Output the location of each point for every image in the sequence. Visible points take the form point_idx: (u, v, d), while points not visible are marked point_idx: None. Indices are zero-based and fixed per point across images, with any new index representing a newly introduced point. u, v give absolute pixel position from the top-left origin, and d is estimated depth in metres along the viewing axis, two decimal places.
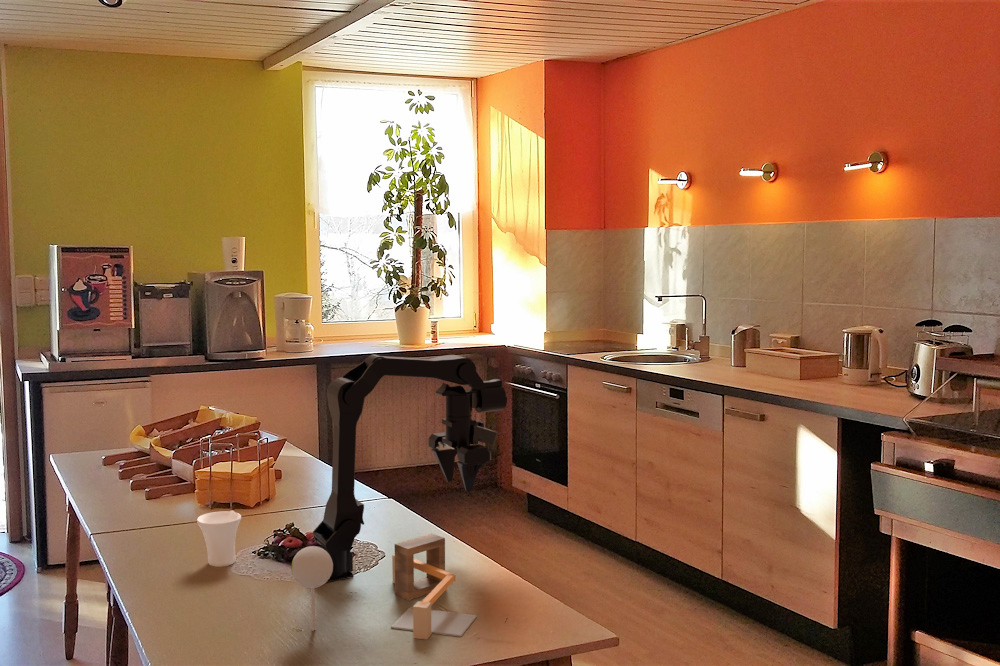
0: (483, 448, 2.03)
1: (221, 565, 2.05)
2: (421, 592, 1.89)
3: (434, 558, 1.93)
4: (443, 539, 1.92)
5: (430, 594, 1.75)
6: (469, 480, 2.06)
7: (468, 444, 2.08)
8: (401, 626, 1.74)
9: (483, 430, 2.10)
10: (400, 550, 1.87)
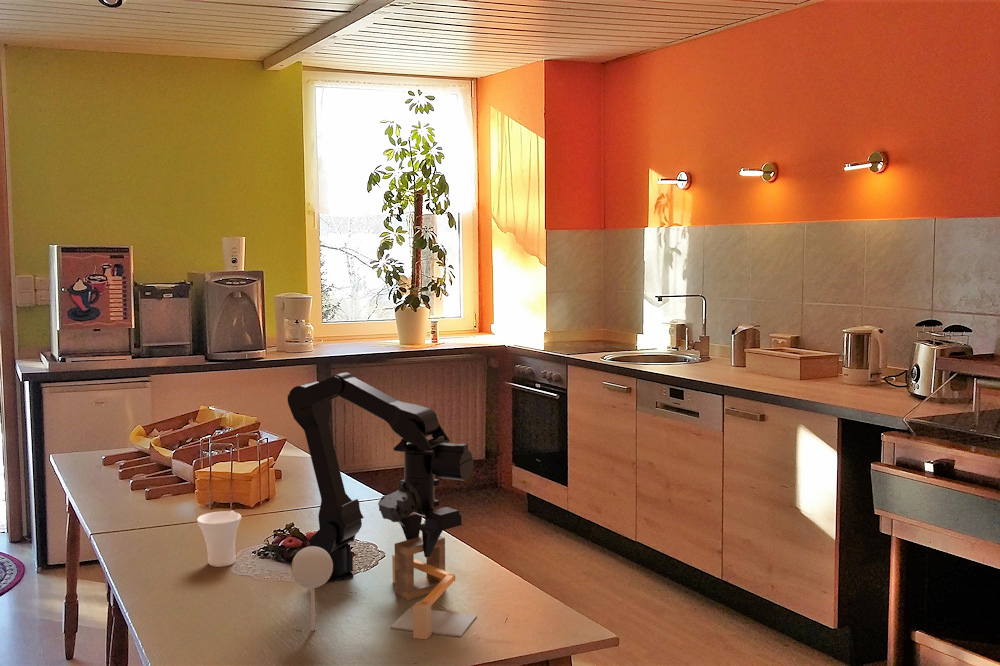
0: (386, 495, 1.95)
1: (221, 565, 2.05)
2: (422, 592, 1.89)
3: (434, 558, 1.93)
4: (443, 539, 1.92)
5: (430, 594, 1.75)
6: None
7: None
8: (401, 626, 1.74)
9: None
10: (400, 550, 1.87)
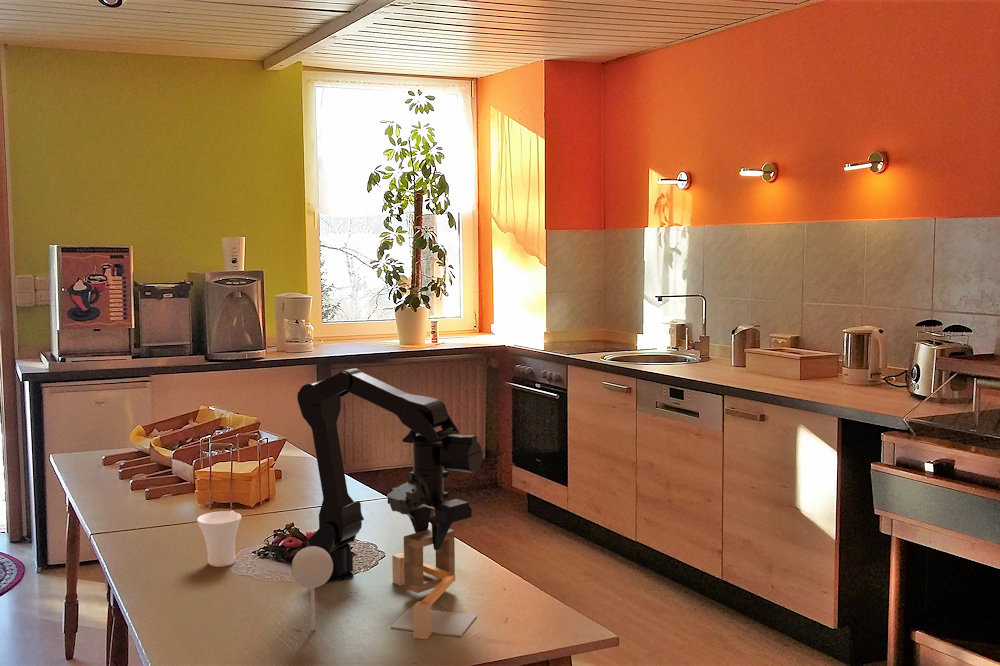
0: (394, 488, 1.93)
1: (221, 565, 2.05)
2: (431, 585, 1.87)
3: (443, 551, 1.90)
4: (452, 531, 1.90)
5: (430, 594, 1.75)
6: None
7: None
8: (401, 626, 1.74)
9: None
10: (409, 542, 1.85)
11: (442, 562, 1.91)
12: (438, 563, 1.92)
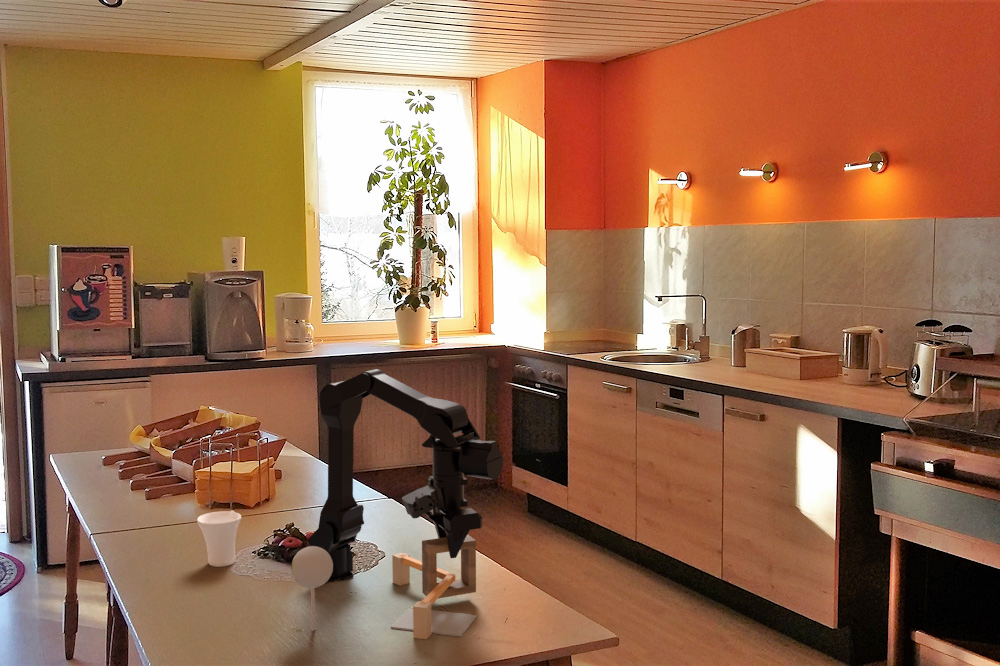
0: None
1: (221, 565, 2.05)
2: (446, 593, 1.83)
3: (465, 560, 1.85)
4: (473, 541, 1.84)
5: (430, 594, 1.75)
6: None
7: None
8: (401, 626, 1.74)
9: None
10: (425, 548, 1.82)
11: (465, 571, 1.86)
12: (462, 572, 1.87)
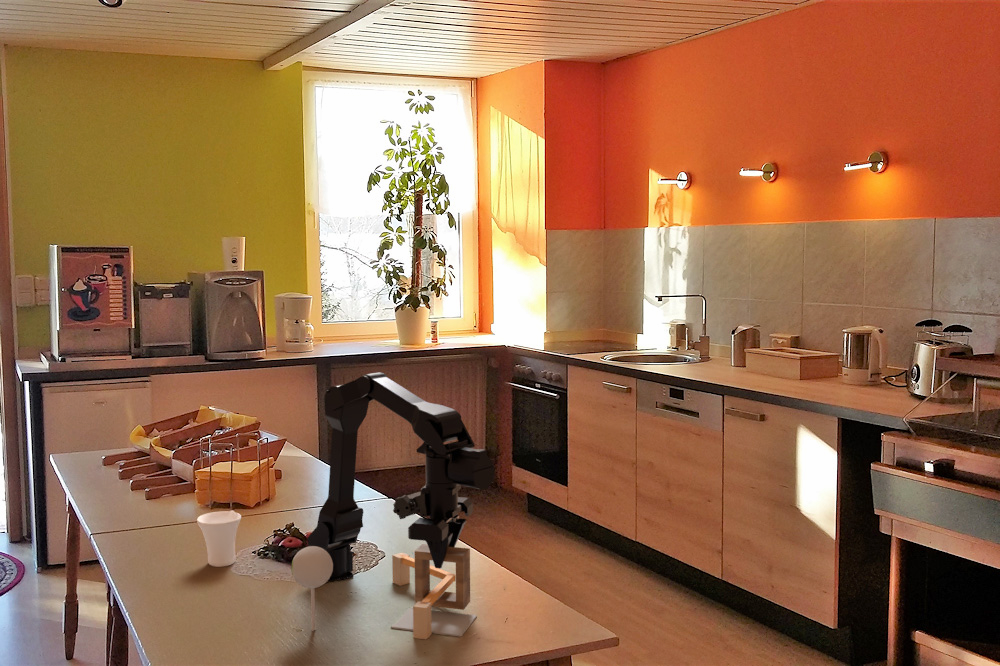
0: None
1: (221, 565, 2.05)
2: None
3: None
4: (461, 556, 1.76)
5: (430, 594, 1.75)
6: None
7: None
8: (401, 626, 1.74)
9: None
10: None
11: None
12: None
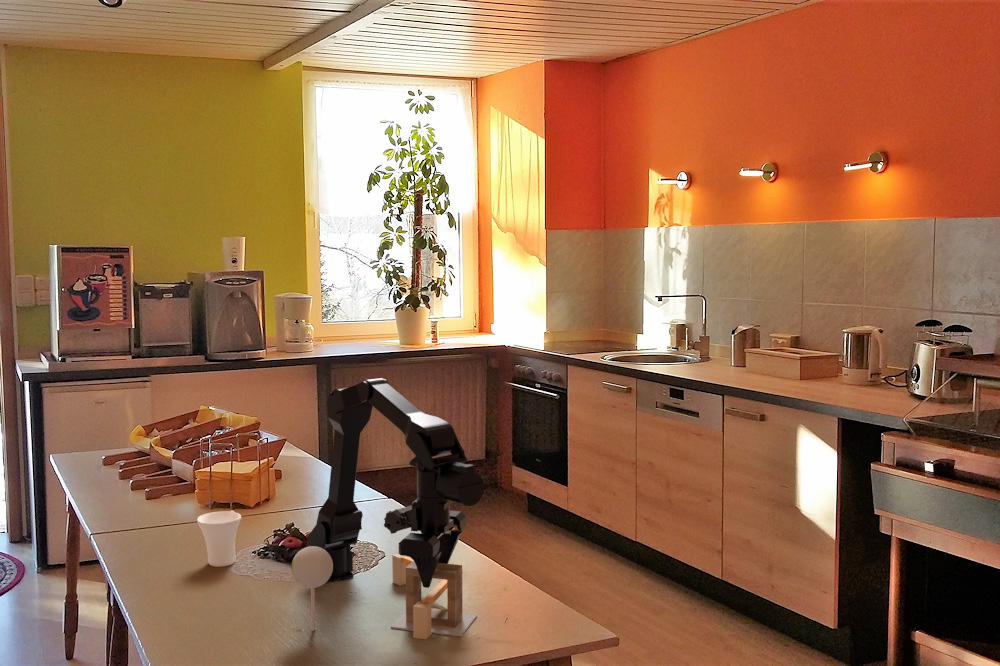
0: None
1: (221, 565, 2.05)
2: None
3: None
4: (453, 573, 1.72)
5: (430, 594, 1.75)
6: None
7: None
8: (401, 626, 1.74)
9: None
10: None
11: None
12: None
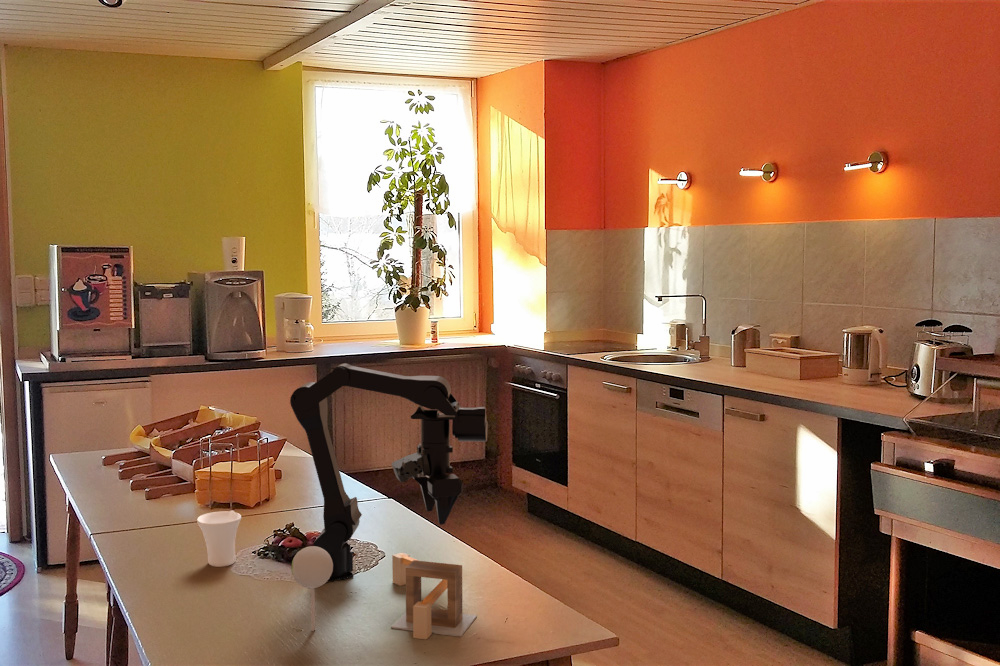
0: None
1: (221, 565, 2.05)
2: None
3: None
4: (453, 573, 1.72)
5: (430, 594, 1.75)
6: None
7: None
8: (401, 626, 1.74)
9: None
10: None
11: None
12: None
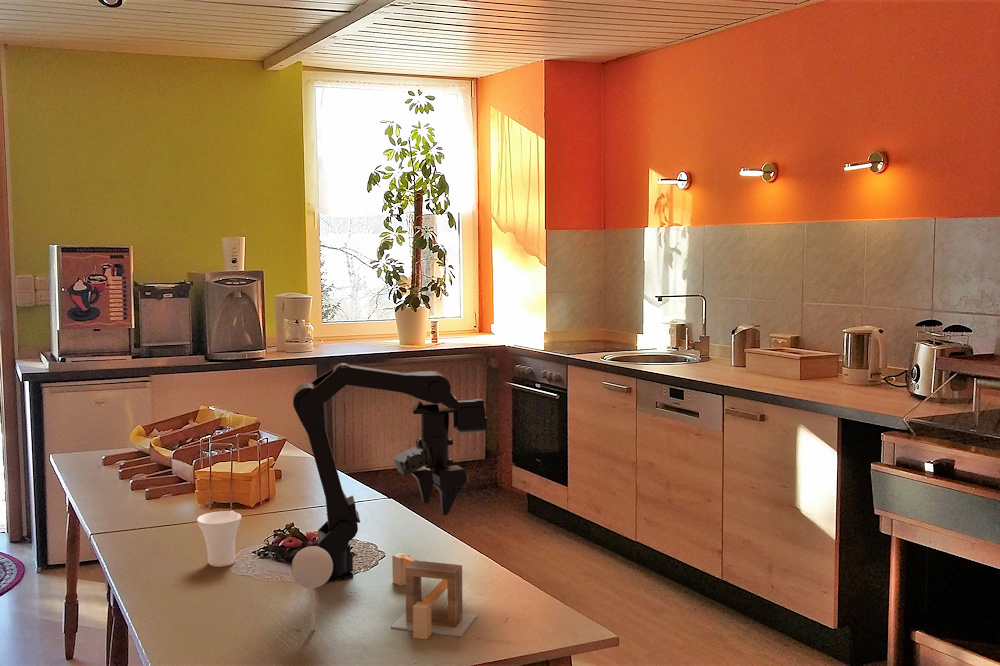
0: None
1: (221, 565, 2.05)
2: None
3: None
4: (453, 573, 1.72)
5: (430, 594, 1.75)
6: None
7: None
8: (401, 626, 1.74)
9: None
10: None
11: None
12: None
